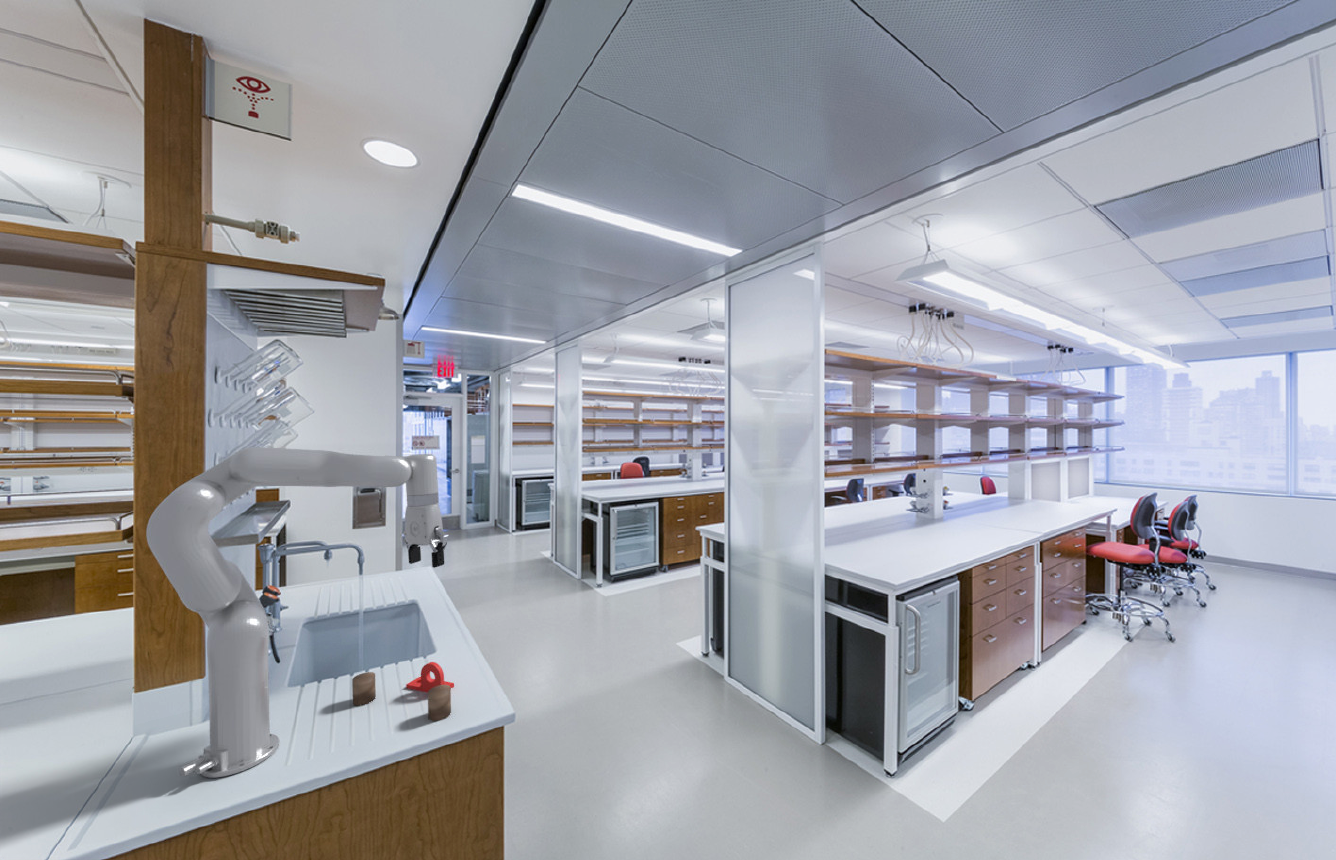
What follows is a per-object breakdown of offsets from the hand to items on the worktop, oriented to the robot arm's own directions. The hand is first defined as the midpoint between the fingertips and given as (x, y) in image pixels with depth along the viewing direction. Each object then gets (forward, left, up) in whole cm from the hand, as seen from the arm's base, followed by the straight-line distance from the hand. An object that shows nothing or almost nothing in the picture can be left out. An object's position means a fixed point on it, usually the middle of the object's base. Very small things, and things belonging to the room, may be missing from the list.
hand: (426, 564), depth 127 cm
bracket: (+1, +1, -34) cm, 34 cm away
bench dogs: (-8, +1, -34) cm, 35 cm away
